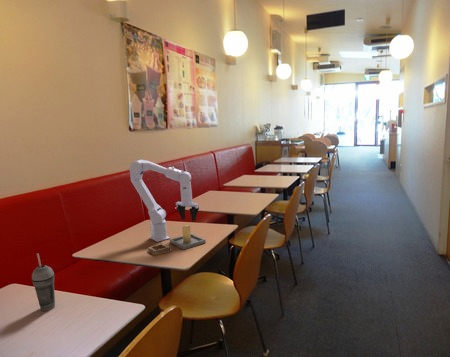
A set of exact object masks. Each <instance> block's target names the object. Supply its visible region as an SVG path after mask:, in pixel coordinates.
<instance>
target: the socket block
mask: <svg viewBox="0 0 450 357" xmlns="http://www.w3.org/2000/svg"><path fill="white" fill-rule="evenodd" d="M147 251H148V252H149V253H151V254H152V255H154V256H159V255H162V254H165V253H169V252H171V247H170V246H169V245H167V244H165V243H163V242H162V243H159V244H156V245H152V246H148V247H147Z"/></svg>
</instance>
